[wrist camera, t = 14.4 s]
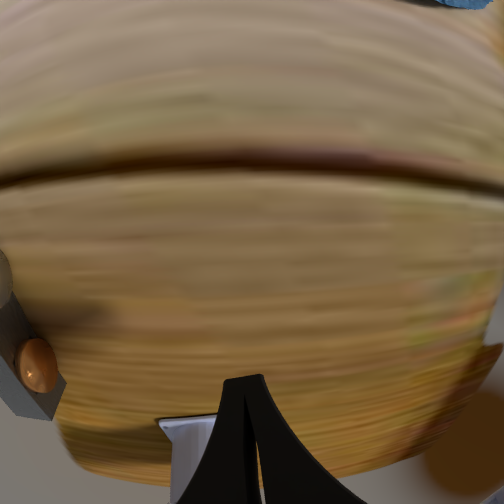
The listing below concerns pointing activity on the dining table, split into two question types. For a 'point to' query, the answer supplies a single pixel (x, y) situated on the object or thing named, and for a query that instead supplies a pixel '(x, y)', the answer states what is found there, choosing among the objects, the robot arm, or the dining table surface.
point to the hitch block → (4, 372)
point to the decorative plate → (466, 3)
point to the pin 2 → (36, 365)
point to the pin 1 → (5, 280)
